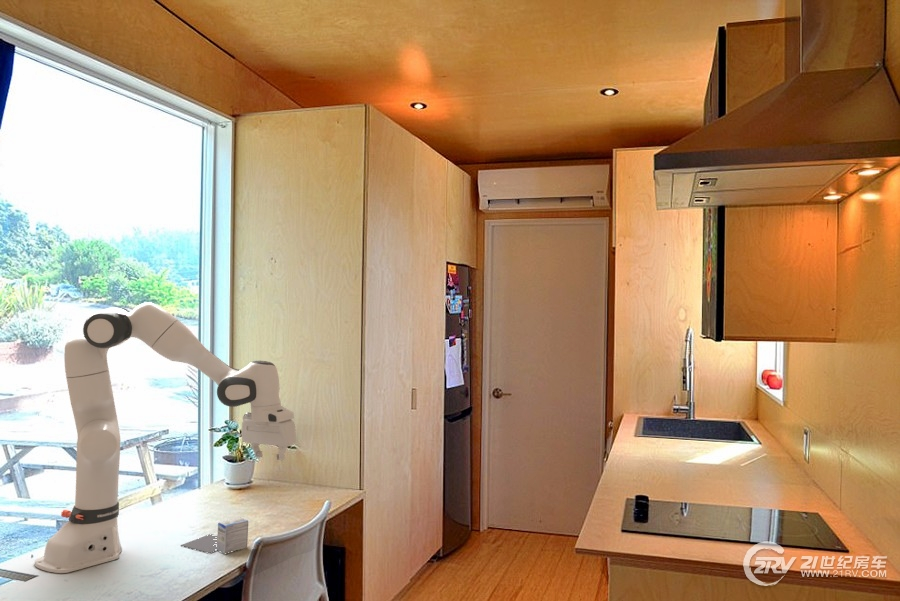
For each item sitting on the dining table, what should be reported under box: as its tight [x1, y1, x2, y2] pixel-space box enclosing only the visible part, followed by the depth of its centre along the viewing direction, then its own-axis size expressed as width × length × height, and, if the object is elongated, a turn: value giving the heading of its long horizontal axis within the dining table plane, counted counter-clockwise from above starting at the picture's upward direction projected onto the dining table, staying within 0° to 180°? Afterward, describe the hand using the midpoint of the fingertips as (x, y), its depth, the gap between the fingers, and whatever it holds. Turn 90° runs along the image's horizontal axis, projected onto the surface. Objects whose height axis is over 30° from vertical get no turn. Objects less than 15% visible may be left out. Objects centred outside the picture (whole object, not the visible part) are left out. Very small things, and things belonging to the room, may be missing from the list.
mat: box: [180, 533, 218, 554], centre depth 212 cm, size 12×12×1 cm
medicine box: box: [217, 516, 249, 555], centre depth 208 cm, size 8×4×9 cm, turn 141°
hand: (269, 458), depth 210 cm, fingers open, 8 cm apart
